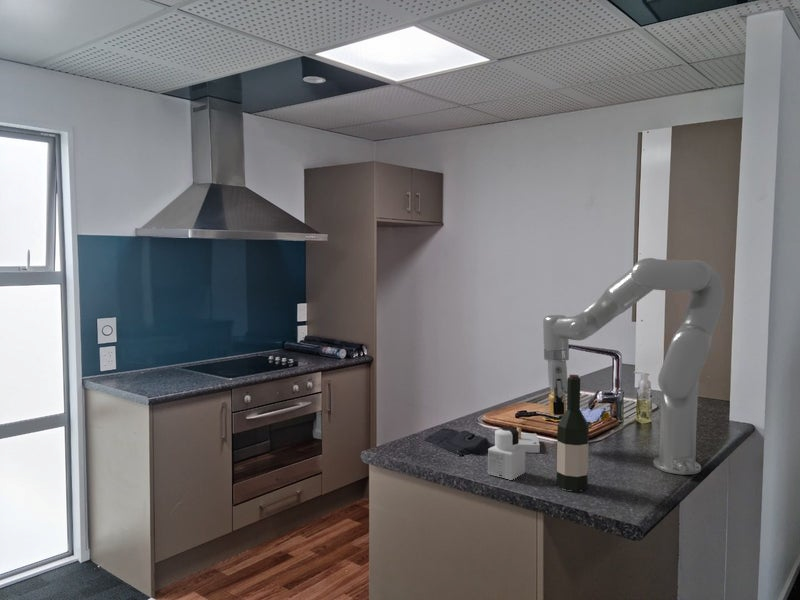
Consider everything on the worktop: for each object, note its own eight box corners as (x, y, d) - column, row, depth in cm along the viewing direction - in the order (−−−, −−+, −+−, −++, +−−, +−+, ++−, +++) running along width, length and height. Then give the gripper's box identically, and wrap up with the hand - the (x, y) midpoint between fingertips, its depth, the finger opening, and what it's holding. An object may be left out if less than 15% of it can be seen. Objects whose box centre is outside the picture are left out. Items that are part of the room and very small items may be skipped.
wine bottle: (582, 480, 171) (584, 372, 168) (592, 492, 162) (595, 378, 160) (552, 480, 170) (553, 372, 168) (561, 492, 162) (562, 378, 160)
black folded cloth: (454, 434, 216) (454, 420, 215) (499, 450, 198) (499, 435, 198) (419, 442, 207) (419, 428, 207) (463, 460, 189) (463, 444, 189)
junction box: (539, 452, 194) (539, 434, 193) (500, 451, 195) (500, 432, 195) (534, 435, 212) (534, 418, 212) (498, 434, 214) (498, 417, 213)
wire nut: (566, 415, 193) (566, 393, 192) (550, 415, 194) (549, 393, 193) (564, 411, 198) (564, 389, 197) (548, 411, 199) (548, 390, 198)
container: (501, 467, 181) (501, 423, 180) (525, 473, 176) (525, 428, 175) (487, 475, 175) (487, 430, 174) (511, 481, 170) (512, 435, 169)
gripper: (572, 358, 186) (573, 419, 187) (565, 350, 202) (566, 405, 204) (546, 359, 187) (548, 419, 188) (541, 350, 203) (542, 405, 205)
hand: (557, 411), depth 196 cm, fingers closed on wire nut, 5 cm apart
